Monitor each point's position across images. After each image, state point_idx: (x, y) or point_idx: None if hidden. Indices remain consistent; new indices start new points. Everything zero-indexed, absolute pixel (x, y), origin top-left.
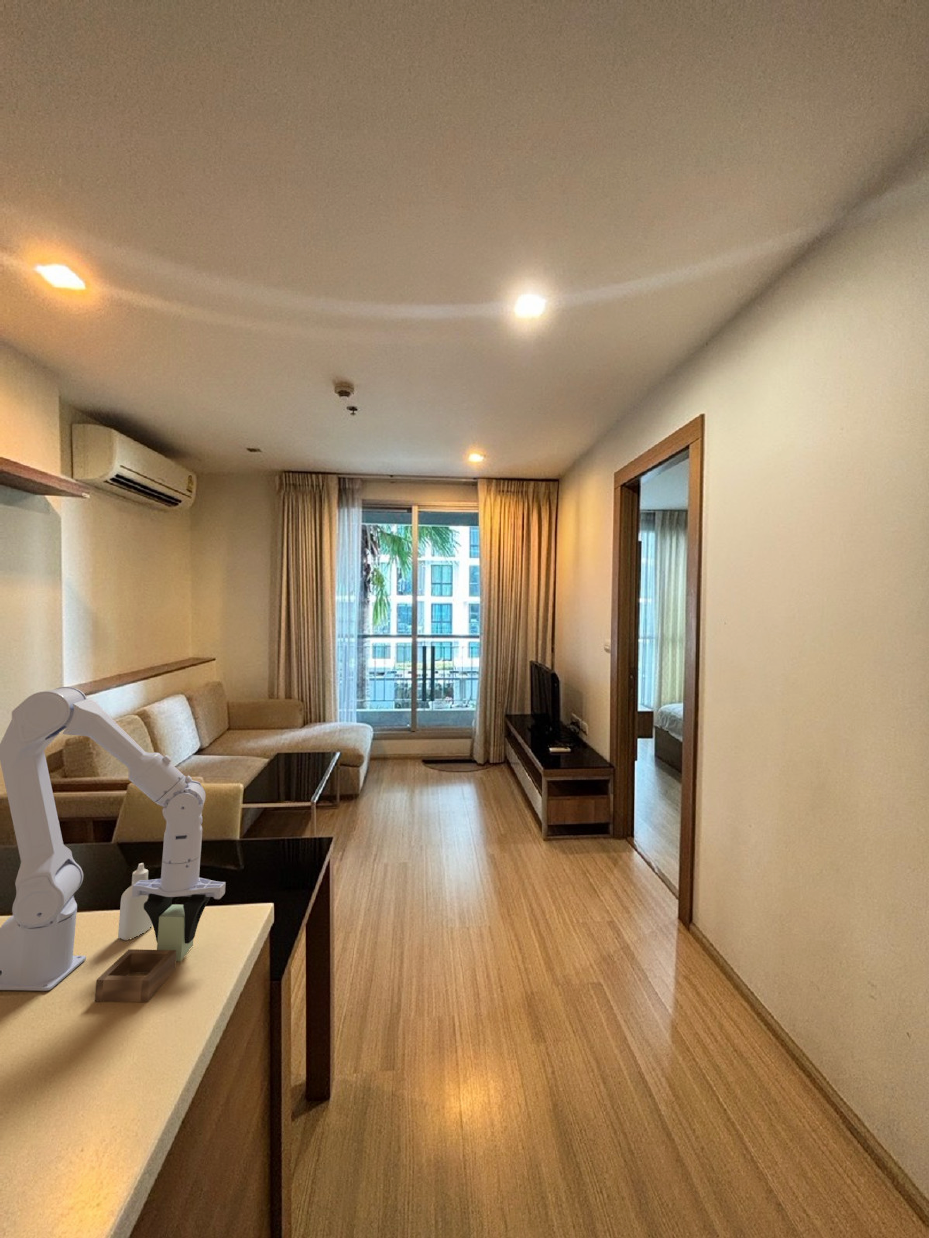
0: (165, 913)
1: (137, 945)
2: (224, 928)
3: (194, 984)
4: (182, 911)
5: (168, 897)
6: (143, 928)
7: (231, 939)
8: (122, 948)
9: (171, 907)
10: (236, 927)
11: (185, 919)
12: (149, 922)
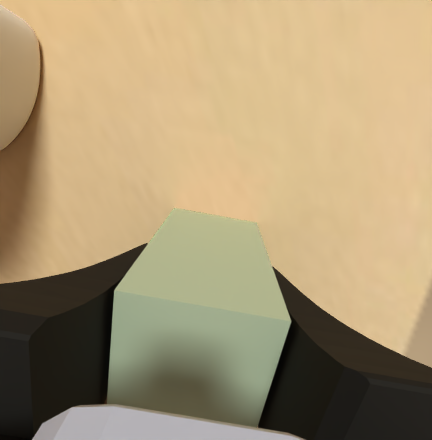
0: (126, 393)
1: (60, 184)
2: (356, 101)
3: None
4: (223, 384)
5: (61, 396)
6: (19, 103)
7: (388, 194)
8: (20, 196)
9: (129, 329)
10: (407, 100)
11: (259, 420)
12: (17, 66)
